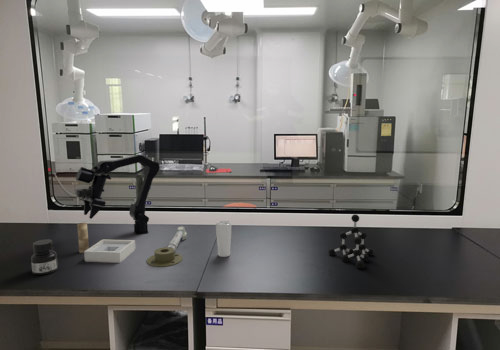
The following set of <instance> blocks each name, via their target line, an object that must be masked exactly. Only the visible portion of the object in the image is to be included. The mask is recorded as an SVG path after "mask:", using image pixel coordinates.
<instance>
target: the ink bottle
mask: <svg viewBox="0 0 500 350" xmlns="http://www.w3.org/2000/svg"><path fill="white" fill-rule="evenodd" d="M32 251H33V254H32V255H31V257H30V262H31V270H32V271H31V272H32V274H33V275H35V276H43V275H45V276H46V275H48V274H53V273H54V272H56V271H57V270H58V268H59V265H58V264H59V263H58V255H57V252H56V251H55V250H54V242H53V240H52V239H48V238H47V239H40V240H37V241H34V242H33V243H32Z"/></svg>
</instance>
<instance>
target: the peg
mask: <svg viewBox="0 0 500 350" xmlns="http://www.w3.org/2000/svg"><path fill="white" fill-rule="evenodd" d="M76 226H77V236H78V239H77V240H78V252H79V254H84V251H86V250H87V249H89V248H90V246H89V245H90V244H89V232H88V223H87V222H80V223H77V224H76Z"/></svg>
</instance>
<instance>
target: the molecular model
mask: <svg viewBox="0 0 500 350" xmlns="http://www.w3.org/2000/svg"><path fill="white" fill-rule="evenodd" d="M351 220H352V222H353V226H352V227H351V229H350V231H348V232H346V231H341V232H340V233H339V238H340V239H341V243H340V244H339V246H338V248H336V249H335V248H332V247H330V248H328V254H329V256H335V255H336V253H337V252H339V251H341V252H342V255H341V260H342V262H344V263H346V262H349V261H350V258H352V257H354V258H355V257H356V259H357V261H356V264H355V265H356V268H357V269H361V270H362V269H363V268H364V267H365V263H367V262H368V261H369V260H370V256H373V255H374V253H375V252H374V249H373V248H371V247H369V248H367V246H366V244H365V243H364V242H365V239H366V238H367V236H368V235H367V233H366V232H365V231H360V229H359V227H357V222H359V221H360V216H359V215H358V214H352V216H351ZM352 234H353V235H354V238H353V243H354V245H355V248H352V247H349V248H348V245H346V244H345V241H346V239H347V238H348V236H349V235H352ZM346 252H347V253H346Z"/></svg>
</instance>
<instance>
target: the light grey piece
mask: <svg viewBox="0 0 500 350" xmlns="http://www.w3.org/2000/svg"><path fill="white" fill-rule="evenodd" d="M186 239H187V231H186V229H185V227H184V226H179V227H177V229H176V233H175V234H174V236H173V237H172V239H171V240H170V241H169V243H168V244H167V245H166V247H171V248H174V249H175V252H176V251H177V250H178V249H177V248H178V245H179V243H180V242H181V241H184V240H186Z"/></svg>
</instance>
